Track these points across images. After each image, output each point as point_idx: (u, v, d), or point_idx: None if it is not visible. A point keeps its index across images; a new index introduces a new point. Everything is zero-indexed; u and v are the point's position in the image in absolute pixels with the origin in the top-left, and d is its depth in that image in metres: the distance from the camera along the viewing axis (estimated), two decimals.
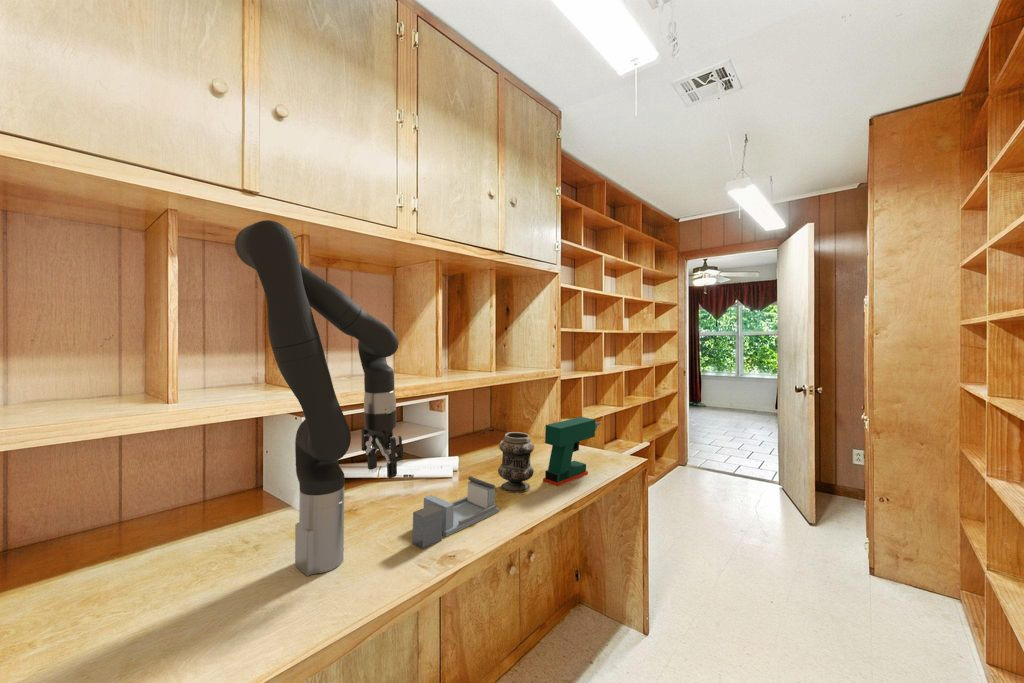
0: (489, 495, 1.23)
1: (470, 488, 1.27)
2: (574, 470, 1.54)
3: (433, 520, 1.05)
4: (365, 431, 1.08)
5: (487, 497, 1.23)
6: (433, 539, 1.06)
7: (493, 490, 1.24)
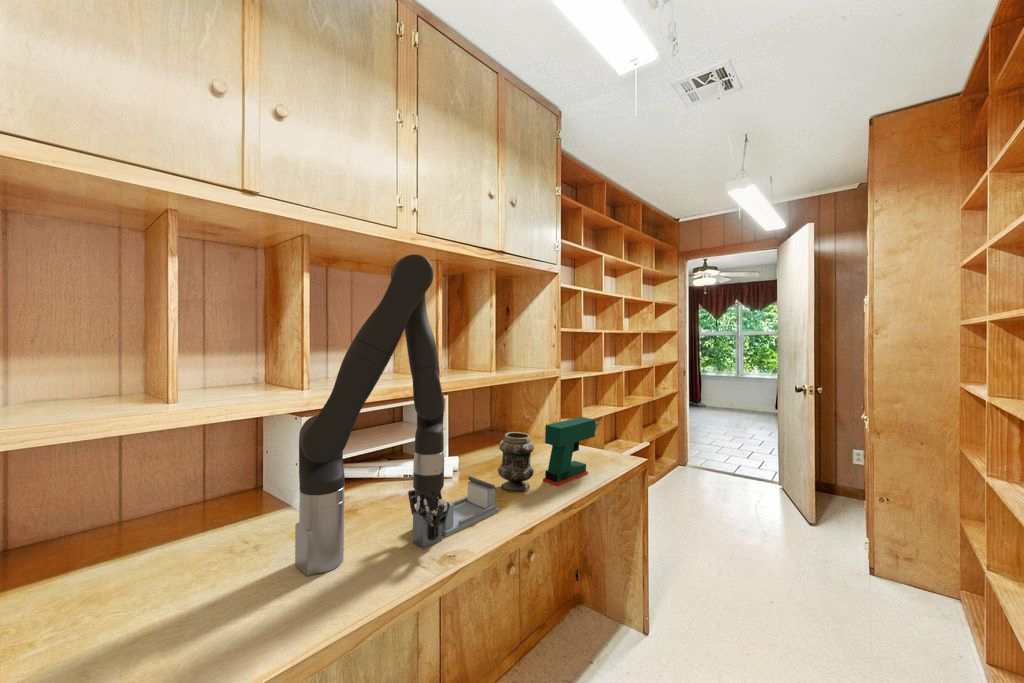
0: (489, 495, 1.23)
1: (470, 488, 1.27)
2: (574, 470, 1.54)
3: None
4: (412, 493, 1.09)
5: (487, 497, 1.23)
6: None
7: (493, 490, 1.24)
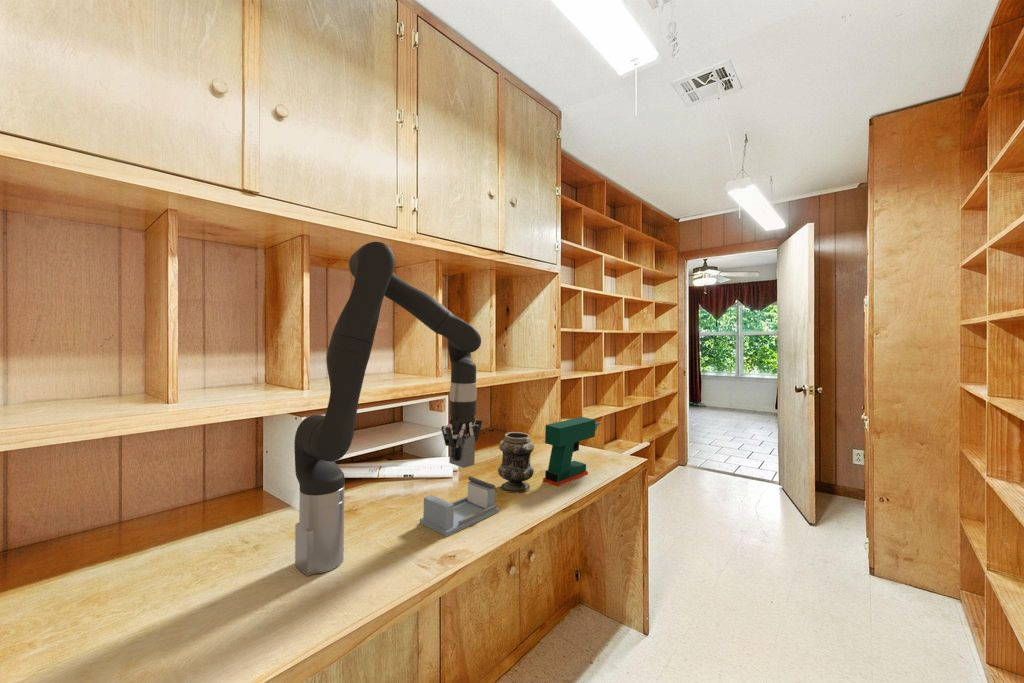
0: (489, 495, 1.23)
1: (470, 488, 1.27)
2: (574, 470, 1.54)
3: None
4: None
5: (487, 497, 1.23)
6: (457, 461, 1.18)
7: (493, 490, 1.24)
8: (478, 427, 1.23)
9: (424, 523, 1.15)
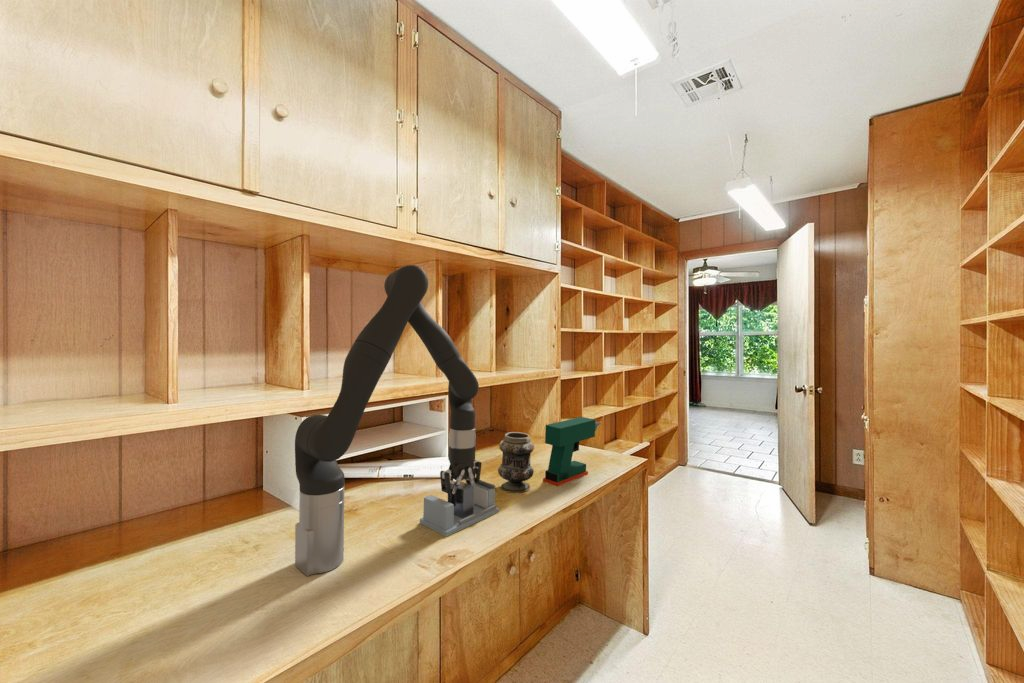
0: (489, 495, 1.23)
1: None
2: (574, 470, 1.54)
3: (456, 494, 1.19)
4: None
5: (487, 497, 1.23)
6: (456, 511, 1.19)
7: (493, 490, 1.24)
8: (478, 469, 1.24)
9: (424, 523, 1.15)
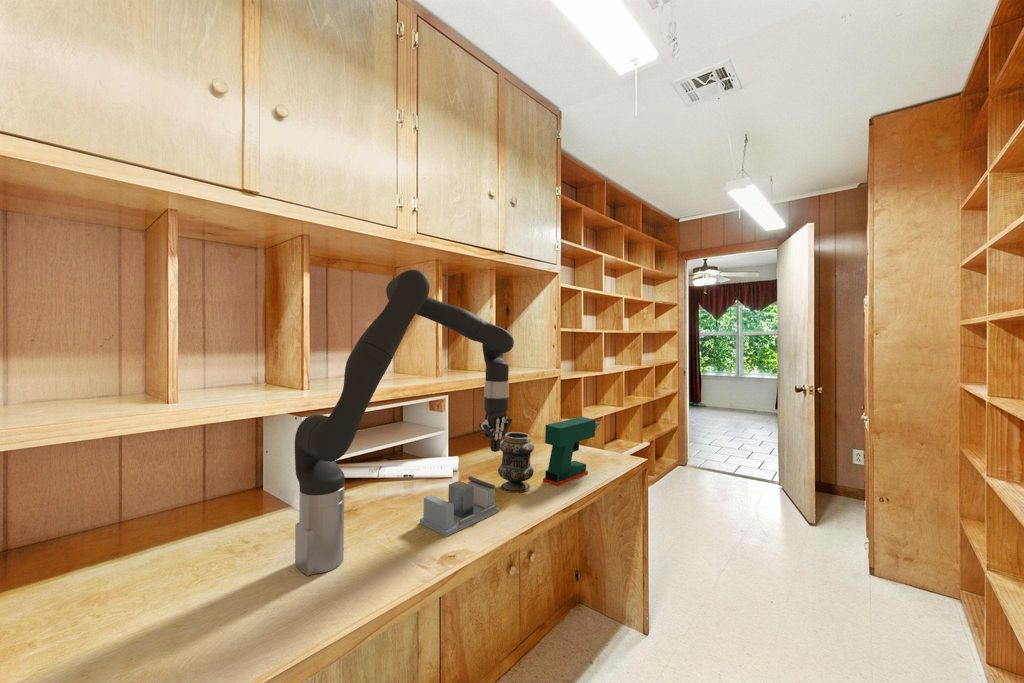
0: (489, 495, 1.23)
1: None
2: (574, 470, 1.54)
3: (456, 494, 1.19)
4: None
5: (487, 497, 1.23)
6: (456, 511, 1.19)
7: (493, 490, 1.24)
8: (507, 424, 1.33)
9: (424, 523, 1.15)
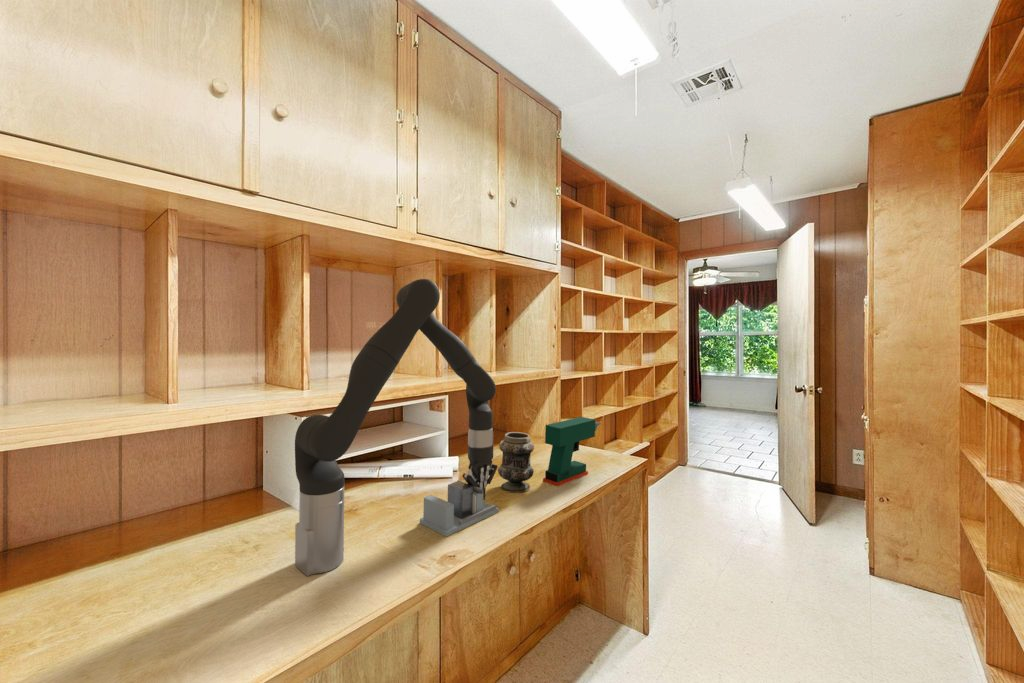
0: (477, 500, 1.19)
1: None
2: (574, 470, 1.54)
3: (455, 494, 1.18)
4: None
5: (475, 502, 1.19)
6: (455, 511, 1.18)
7: (481, 495, 1.21)
8: (493, 471, 1.29)
9: (424, 523, 1.15)
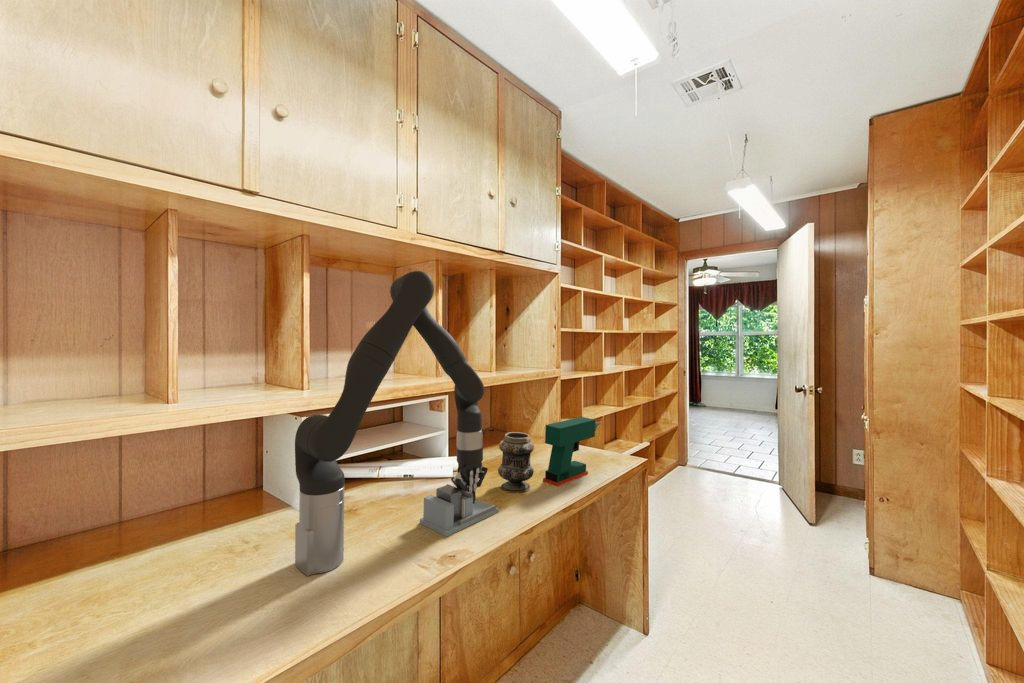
0: (466, 505, 1.16)
1: None
2: (574, 470, 1.54)
3: (443, 499, 1.15)
4: None
5: (464, 507, 1.16)
6: None
7: (471, 499, 1.18)
8: (483, 474, 1.25)
9: (424, 523, 1.15)
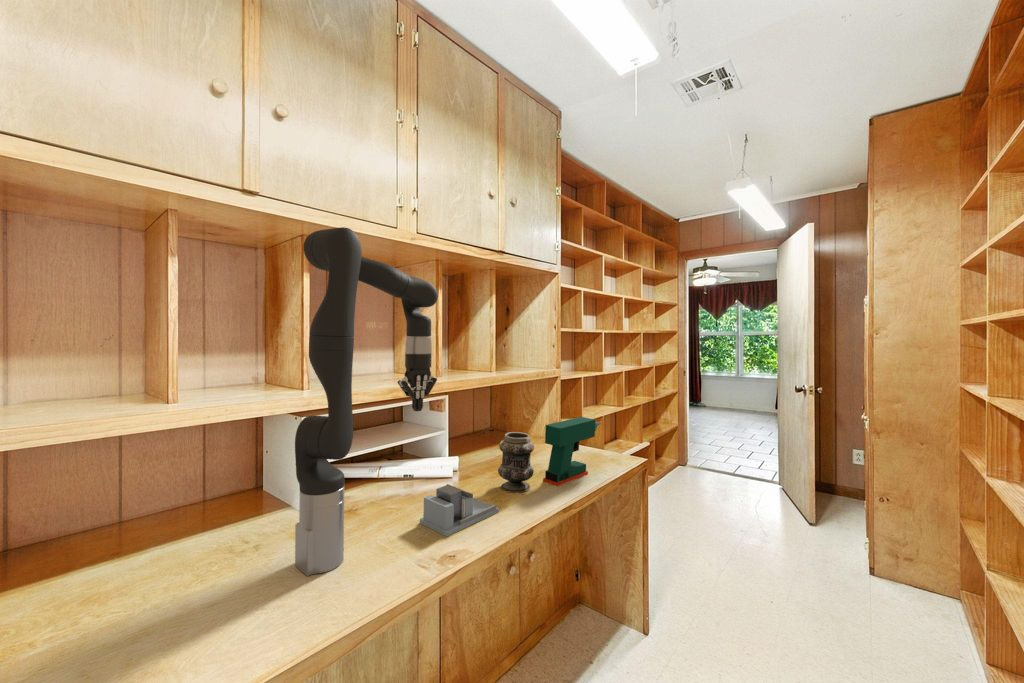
0: (466, 505, 1.16)
1: None
2: (574, 470, 1.54)
3: (443, 499, 1.15)
4: None
5: (464, 507, 1.16)
6: None
7: (471, 499, 1.18)
8: (432, 383, 1.27)
9: (424, 523, 1.15)
